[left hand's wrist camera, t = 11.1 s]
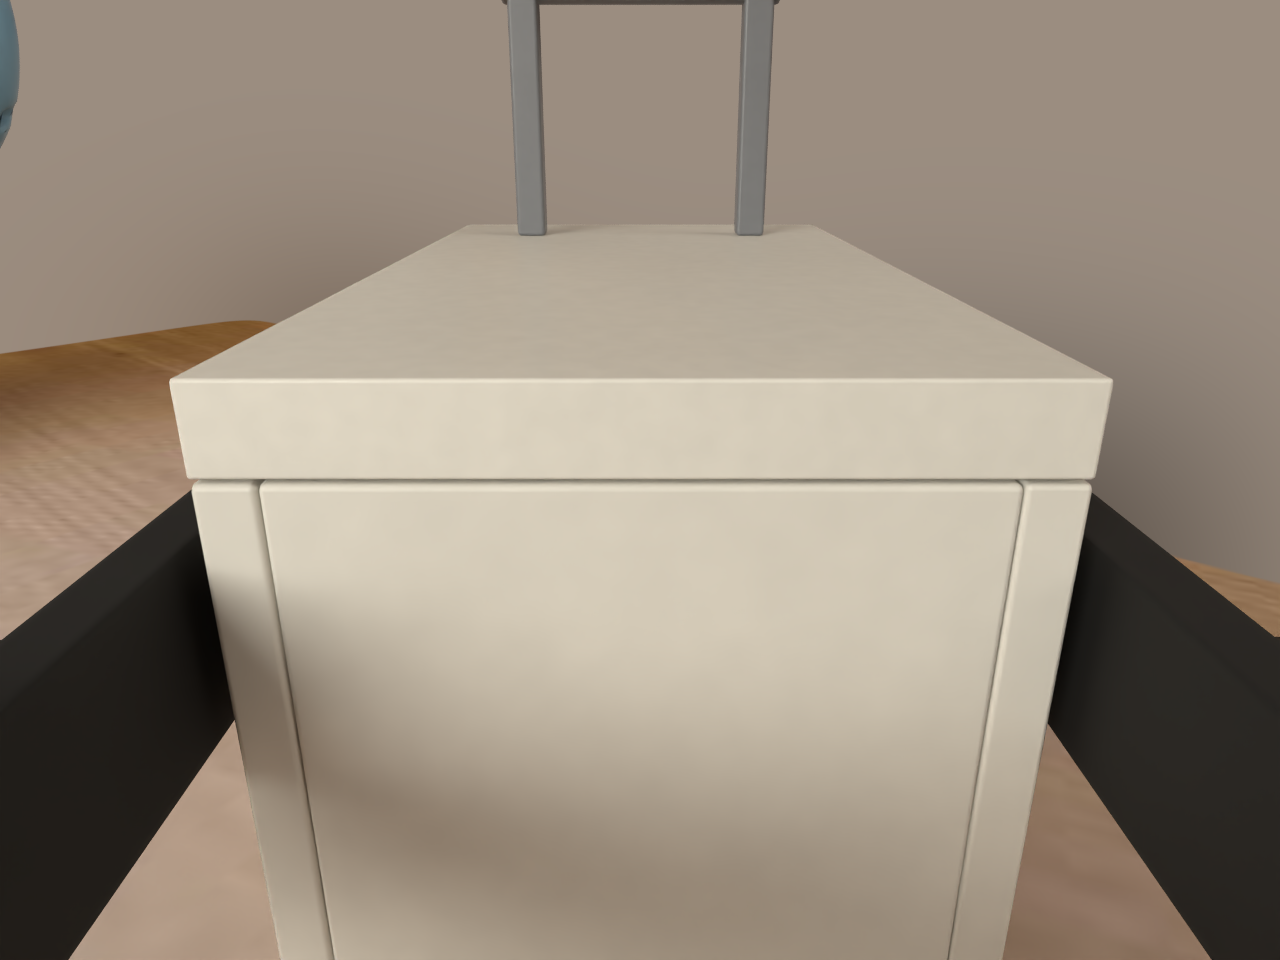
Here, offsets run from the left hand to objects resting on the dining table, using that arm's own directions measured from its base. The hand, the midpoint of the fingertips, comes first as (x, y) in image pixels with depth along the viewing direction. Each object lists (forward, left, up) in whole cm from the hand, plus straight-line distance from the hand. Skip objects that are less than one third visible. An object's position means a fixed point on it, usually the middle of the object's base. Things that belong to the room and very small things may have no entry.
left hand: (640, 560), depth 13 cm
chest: (+4, -4, -7) cm, 9 cm away
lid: (+5, -4, +2) cm, 7 cm away
